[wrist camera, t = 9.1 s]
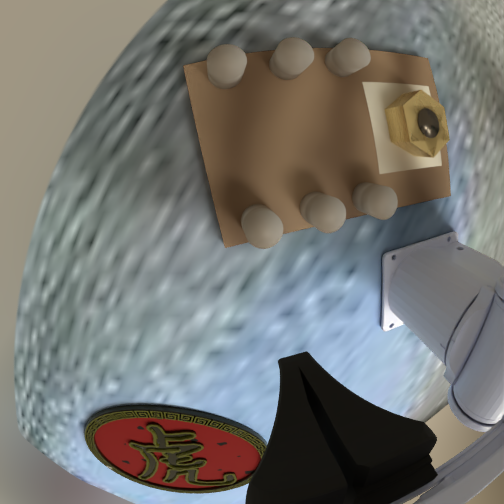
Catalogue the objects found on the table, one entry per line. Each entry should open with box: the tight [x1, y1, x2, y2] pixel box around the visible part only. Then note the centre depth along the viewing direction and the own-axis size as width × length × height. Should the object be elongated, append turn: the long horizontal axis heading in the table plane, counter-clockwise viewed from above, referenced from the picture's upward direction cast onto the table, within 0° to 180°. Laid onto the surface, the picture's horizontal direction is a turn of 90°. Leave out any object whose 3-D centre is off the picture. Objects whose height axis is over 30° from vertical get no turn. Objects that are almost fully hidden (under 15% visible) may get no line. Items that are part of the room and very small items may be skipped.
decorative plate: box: [84, 405, 267, 493], centre depth 27 cm, size 25×1×25 cm
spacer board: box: [183, 37, 451, 249], centre depth 16 cm, size 20×13×3 cm, turn 102°
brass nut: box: [384, 90, 450, 158], centre depth 16 cm, size 5×4×2 cm
